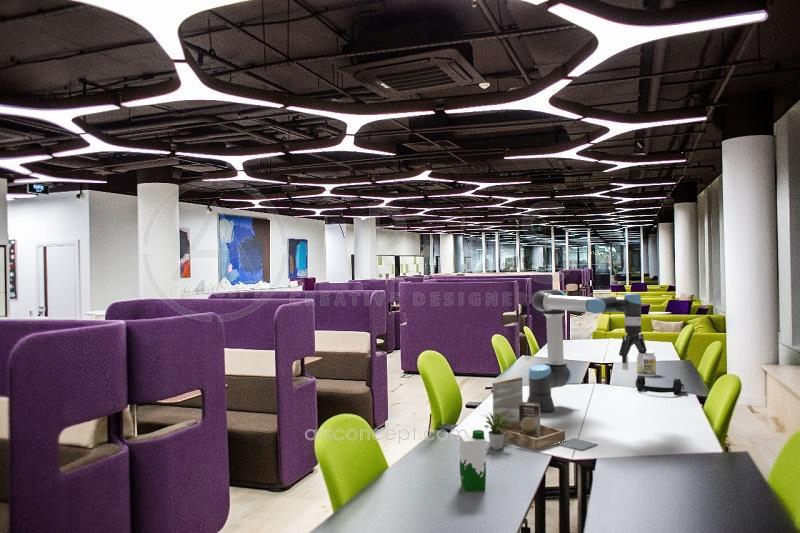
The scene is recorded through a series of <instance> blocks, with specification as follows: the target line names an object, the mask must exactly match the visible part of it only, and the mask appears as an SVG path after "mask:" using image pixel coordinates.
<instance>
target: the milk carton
mask: <svg viewBox="0 0 800 533" xmlns="http://www.w3.org/2000/svg"><path fill="white" fill-rule="evenodd" d="M486 447H487V442H486V438H485V431H484V430H482V429H481V430H480V429H475V430H472V434H469V433H468V434H460V435H459V476H460V482H461V483H460V484H461V486H462V488H463V490H464V492H465V493H470V492H473V493H474V492H486V480H487V479H486V478H487V454H486V453H487V451H486V450H487V448H486Z"/></svg>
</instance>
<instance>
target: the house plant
mask: <svg viewBox="0 0 800 533" xmlns="http://www.w3.org/2000/svg"><path fill="white" fill-rule="evenodd" d="M500 412H501V410H500V411H499V412H498V414H497V413H496V411H495V421H494V417H493V413H491V412H490V411H489V412H488V414H489V415H490V416H488V414H486V413H485V414H482V416H484V417H485V418H486V419H487V420H486V421H485V423H487V424H488V425H487V424H485V425H484V428H485V429H491V430H489V431H488V437H489V438H488V439H489V443H490V444H489V445H490V447H492V449H494V448H496V449H495V450H497V449H498V450H499V448H500V449H502V448H503V446H504V441H505V440H504V436H505V432H503V431H502V430H503V429H502V426H503V425H504V424H505V423H508V422H515V421H504V422H503V420H505V418H506V417H507V416H508V415H509V414H508V415H506V416H505V417H504V418H503V419H502V420H501V421H500V422H499V419H500V417H501V415H502V414H503V413H504V412H502V413H501V414H500ZM507 418H510V417H507ZM504 426H505V427H504ZM504 426H503V428H510V427H508V426H510V425H507V426H506V425H504ZM501 429H502V430H501Z"/></svg>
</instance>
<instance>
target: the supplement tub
mask: <svg viewBox="0 0 800 533" xmlns="http://www.w3.org/2000/svg"><path fill="white" fill-rule="evenodd" d="M637 352H638V353H639V351H638V350H637ZM638 353H637V354H638ZM656 358H657V357H656V356H655V351H653V350H647V351H646V354H644V367H640V366H638V355H637V356H636V374H637V376H638V375H641V376H644V377H645V378H647V377H648V378H649V377H650V378H653V377H656V375H657V370H656V369H657V368H656V365H657V362H656V361H657V359H656Z"/></svg>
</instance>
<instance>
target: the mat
mask: <svg viewBox="0 0 800 533" xmlns="http://www.w3.org/2000/svg"><path fill="white" fill-rule="evenodd" d="M558 444H561V445H565V446H569V447H572V448H575V449H574V450H576V449H577V450H576V451H579V450H580V452H584V451H586V450H588V448H589V449H591V447H592V448H594V447H597V446H598V443H595V442H593V441H589V440H588V441H587V440H584V439H579V438H576V437H572V438H569V439H565V441H563V442H560V443H557V445H558ZM561 445H560V446H561ZM596 445H597V446H596ZM565 446H564V447H565ZM593 446H594V447H593ZM569 447H568V448H569ZM572 448H571V449H572Z"/></svg>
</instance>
